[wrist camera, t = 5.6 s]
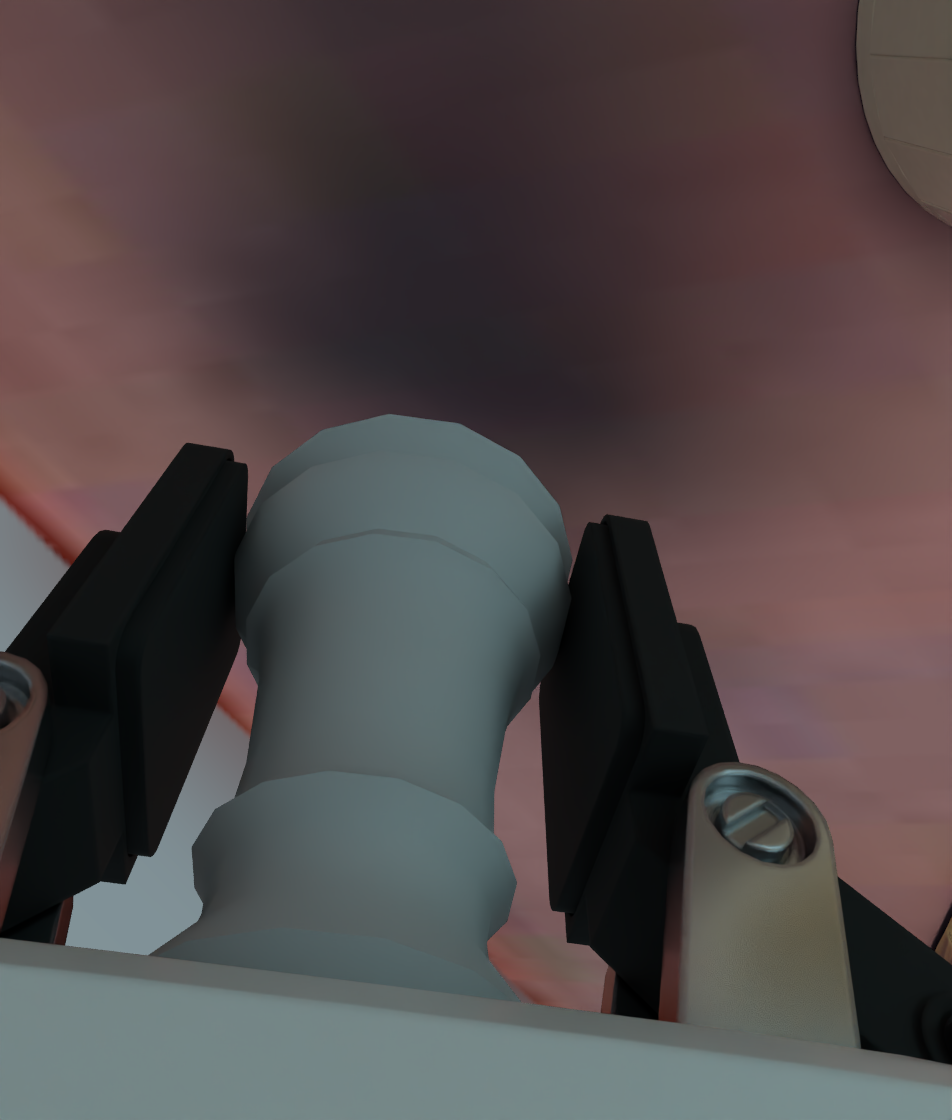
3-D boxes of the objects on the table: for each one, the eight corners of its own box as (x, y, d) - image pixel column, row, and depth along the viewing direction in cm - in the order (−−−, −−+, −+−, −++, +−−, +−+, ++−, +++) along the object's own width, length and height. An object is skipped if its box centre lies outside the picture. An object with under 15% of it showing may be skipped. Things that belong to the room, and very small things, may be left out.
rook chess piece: (284, 673, 13) (64, 1342, 7) (220, 406, 11) (-223, 1036, 4) (570, 664, 13) (640, 1351, 6) (569, 390, 11) (682, 1032, 4)
